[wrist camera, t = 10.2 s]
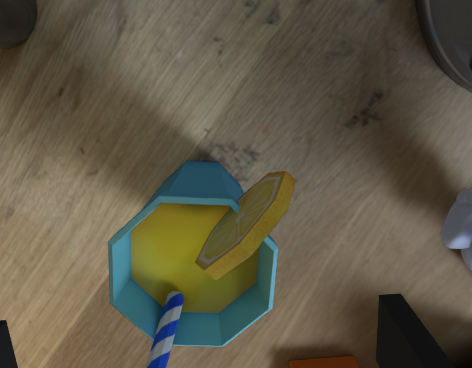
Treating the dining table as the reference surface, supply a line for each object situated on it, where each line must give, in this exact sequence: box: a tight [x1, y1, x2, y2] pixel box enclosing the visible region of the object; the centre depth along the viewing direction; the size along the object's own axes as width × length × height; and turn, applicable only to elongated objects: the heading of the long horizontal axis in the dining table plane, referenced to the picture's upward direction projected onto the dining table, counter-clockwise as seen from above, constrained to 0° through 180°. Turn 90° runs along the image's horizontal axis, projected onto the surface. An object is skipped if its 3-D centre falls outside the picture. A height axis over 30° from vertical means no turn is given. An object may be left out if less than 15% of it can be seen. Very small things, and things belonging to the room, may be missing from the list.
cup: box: [108, 161, 296, 368], centre depth 22 cm, size 14×8×15 cm, turn 154°
